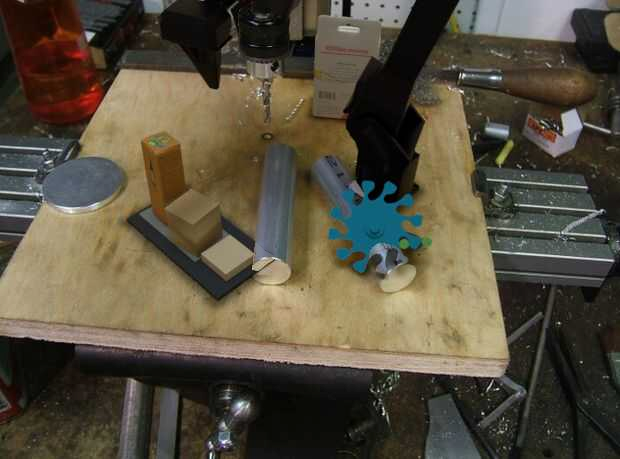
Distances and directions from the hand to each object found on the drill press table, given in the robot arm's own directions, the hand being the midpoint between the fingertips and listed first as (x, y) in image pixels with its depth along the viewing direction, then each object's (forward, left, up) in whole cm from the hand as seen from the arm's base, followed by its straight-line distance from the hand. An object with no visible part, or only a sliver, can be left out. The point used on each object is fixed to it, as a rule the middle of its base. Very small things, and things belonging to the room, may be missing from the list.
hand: (232, 69), depth 65 cm
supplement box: (-4, +13, -12) cm, 18 cm away
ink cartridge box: (-3, -18, -12) cm, 22 cm away
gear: (-24, +1, -12) cm, 27 cm away
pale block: (-9, +14, -12) cm, 20 cm away
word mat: (-9, +13, -12) cm, 20 cm away
